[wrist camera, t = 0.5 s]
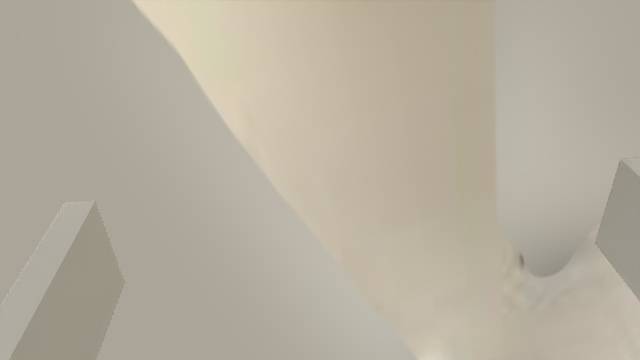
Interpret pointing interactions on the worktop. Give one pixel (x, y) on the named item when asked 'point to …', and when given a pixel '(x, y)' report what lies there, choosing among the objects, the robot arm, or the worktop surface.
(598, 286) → the worktop surface
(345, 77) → the worktop surface
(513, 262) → the worktop surface
